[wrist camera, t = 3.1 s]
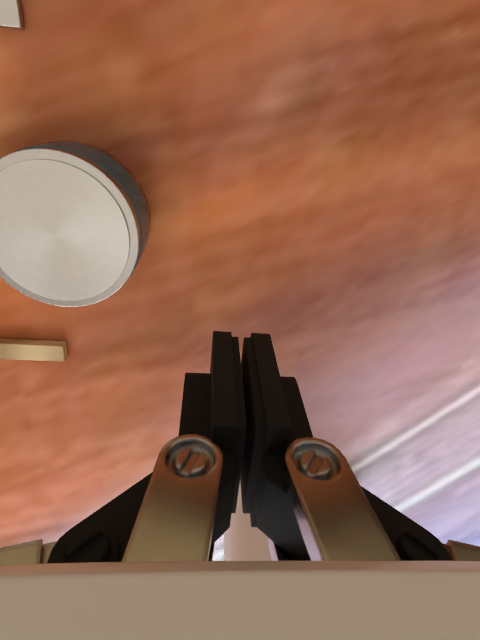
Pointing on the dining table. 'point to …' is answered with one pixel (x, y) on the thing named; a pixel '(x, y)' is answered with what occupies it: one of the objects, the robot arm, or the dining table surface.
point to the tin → (69, 223)
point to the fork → (11, 14)
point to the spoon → (33, 349)
